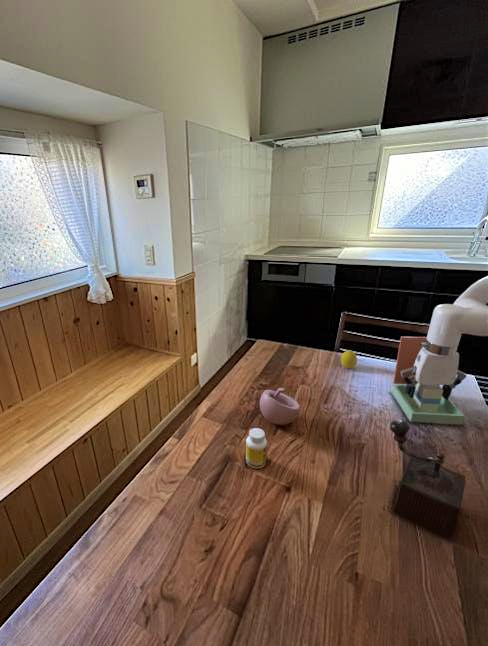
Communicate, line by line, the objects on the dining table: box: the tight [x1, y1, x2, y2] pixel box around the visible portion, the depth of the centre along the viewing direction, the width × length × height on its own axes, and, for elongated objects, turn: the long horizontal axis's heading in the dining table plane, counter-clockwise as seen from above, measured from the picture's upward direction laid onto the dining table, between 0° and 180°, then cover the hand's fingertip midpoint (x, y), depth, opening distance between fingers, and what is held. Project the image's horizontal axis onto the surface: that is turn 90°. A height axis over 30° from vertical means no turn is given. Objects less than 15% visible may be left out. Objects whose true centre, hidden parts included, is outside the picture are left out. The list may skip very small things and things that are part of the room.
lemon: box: [340, 349, 358, 370], centre depth 129 cm, size 6×6×8 cm
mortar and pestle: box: [259, 387, 301, 426], centre depth 103 cm, size 12×12×11 cm
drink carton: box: [412, 383, 443, 412], centre depth 104 cm, size 5×5×8 cm
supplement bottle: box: [245, 427, 268, 469], centre depth 89 cm, size 5×5×10 cm
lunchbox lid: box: [392, 336, 427, 385], centre depth 108 cm, size 16×14×1 cm
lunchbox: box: [391, 384, 466, 426], centre depth 105 cm, size 16×14×4 cm
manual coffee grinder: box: [389, 419, 466, 540], centre depth 73 cm, size 16×11×18 cm
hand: (426, 396), depth 104 cm, fingers open, 9 cm apart
